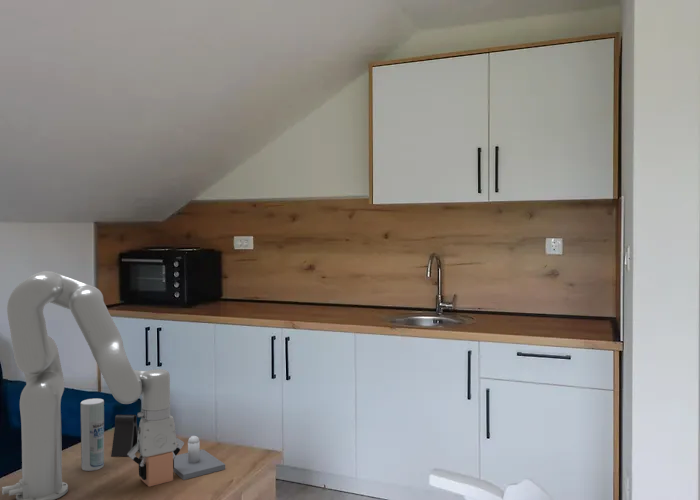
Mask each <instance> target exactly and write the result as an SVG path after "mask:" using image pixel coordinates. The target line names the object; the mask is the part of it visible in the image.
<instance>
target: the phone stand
mask: <svg viewBox="0 0 700 500" xmlns="http://www.w3.org/2000/svg"><path fill="white" fill-rule="evenodd" d="M137 418H138V416H137V415H136V414H116V415H115V417H114V429H113V439H112V445H111V455H110V456H111V457H128V458H130V457H129V456H128V455H127V454H128V452H129V451H130V450H131V449H132V448H133V447H134V446H135V445H136V444H137V439H138V430H139V427H138V423H137V422H138V421H137V420H138V419H137Z"/></svg>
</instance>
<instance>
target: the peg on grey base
mask: <svg viewBox="0 0 700 500" xmlns="http://www.w3.org/2000/svg"><path fill="white" fill-rule="evenodd" d="M200 444H201V442H200V438H199V437H198V435H197V436H196V435H191V436H190V437H189V438H188V441H187V452H184V453H180V454H177V455H176V458H175V459H174V469H173V473H175V474H176V475H177V476H179V478H180V479H182V480H183V481H185V480H188V479H193V478H196V477H201V476H205V475H208V474H211V473H217V472H220V471H223V470H226V463H224V462H223V461H221V460H220V459H218V458H217V457H216V456H215V455H213V454H211V453H209V452H208V451H206V450H205V449H202V448H201V447H200V446H201V445H200ZM200 448H201V449H200Z"/></svg>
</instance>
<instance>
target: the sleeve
mask: <svg viewBox="0 0 700 500" xmlns="http://www.w3.org/2000/svg"><path fill="white" fill-rule="evenodd" d="M145 466H146V480H143V479H142V478H141V477H140V476H139V477H140V480H141V481H142V482H143V483H144V484H145V485H147V487H153V486H157V485H160V484H161V485H162V484H165V483H169V482H173V481H174V472H173V452H169V453H165V454H160V455H156V456H151V457H147V458H146V462H145Z"/></svg>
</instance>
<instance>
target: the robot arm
mask: <svg viewBox="0 0 700 500" xmlns="http://www.w3.org/2000/svg"><path fill="white" fill-rule="evenodd" d="M49 303H50V304H53V305H56V306H58V307H61V308H64V309H67V310H70V312H71V314H72V317H73V318H74V320H75V322H76V323H77V326H78V328H79V329H80V332H81V333H82V335H83V337H84V339H85V341H86V343H87V345H88V347H89V349H90V351H91V354H92V356H93V359H94V360H95V362H96V364H97V366H98V369H99V370H100V374H101V375H102V378H103V379H104V382H105V384H106V385H107V387H108V389H109V391H110V393H111V394H112V396H113V398H114V399H115V401H117V402H118V403H119V404H123V405H129V404H132V403H135V402H137V401H138V399H140V397H142V401H141V402H142V407H141V411H140V412H137V415H136V416H137V418H141V419H140V421H139V425H138V439H137V444H136V445H135V446H134V447H133V448H132V449H131V450H130V451H129V452H128V454H127V455H128V456H129V457H128V458H130V459H131V460H132V461H134V463H136V464H137V465H138V476H139V477H141V478H142V479H143V480H146V466H145V462H146V458H147V457H151V456H156V455H160V454H165V453H169V452H173V469H174V459H175V458H176V455H179V453H180V451H181V449H182V448H183V446H184V444H185V441H183V440H181V439H180V438H178V437H177V434H176V425H175V420H174V416H173V415H171V383H170V382H171V381H170V380H171V376H170V373H169V370H166V369H160V368H157V369H149V370H139V369H138V370H137V369H133V367H132V365H131V362H130V361H129V358H128V356H127V353H126V351H125V348H124V343H123V339H122V335H121V333H120V331H119V329H118V327H117V325H116V323H115V322H114V320H113V317H112V316H111V314H110V312H109V309H108V308H107V306H106V303H105V301H104V295H103V293H102V291H101V290H100V289H99V288H97V287H95V286H93V285H90V284H88V283H85V282H82V281H79V280H76V279H74V278H71V277H68V276H66V275H64V274H60V273H59V272H55V271H51V270H43V271H40V272H37V273H34V274H32V275H30V276H28V277H27V278H25V279H24V280H22V281H21V282H20V283H19V284H17V286H16V287H15V288H14V289H13V290H12V292H11V293H10V295H9V298H8V300H7V307H6V312H7V319H8V326H9V330H10V332H9V333H10V339H11V345H12V349H13V350H12V351H13V354H14V355H13V356H14V361H15V365H16V366H17V368H18V370H20V371H21V372H22V373H24V379H25V384H26V385H24V387H23V389H22V390H21V393H20V396H19V397H20V399H19V411H20V423H21V424H20V425H21V428H20V429H21V462H22V463H21V469H22V470H21V472H22V473H21V478H19V481H18V482H16V483H15V484H13V485H6V486H2V487H1V492H2V494H1V495H3V496H4V495H7V494H8V496H9V497H10V496H15V499H16V500H57V499H59V498H61V497H63V496H65V495H66V494H67V493H68V491H69V485H68V483H67V482H65V481H63V475H62V474H63V472H62V471H63V469H62V468H63V465H62V463H63V462H62V461H63V460H62V458H63V457H62V454H63V453H62V447H63V446H62V441H63V440H62V413H61V412H62V410H61V402H62V396H63V394H64V391H65V379H64V375H63V370H62V363H61V359H60V352H59V349H58V345H57V343H56V342H55V340H54V339H53V338H52V337H50V336H49V335H48V329H47V323H46V320H45V319H46V318H45V314H44V308H45V307H46V305H47V304H49ZM137 453H138V454H139V456H138V457H137V455H136V454H137Z"/></svg>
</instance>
